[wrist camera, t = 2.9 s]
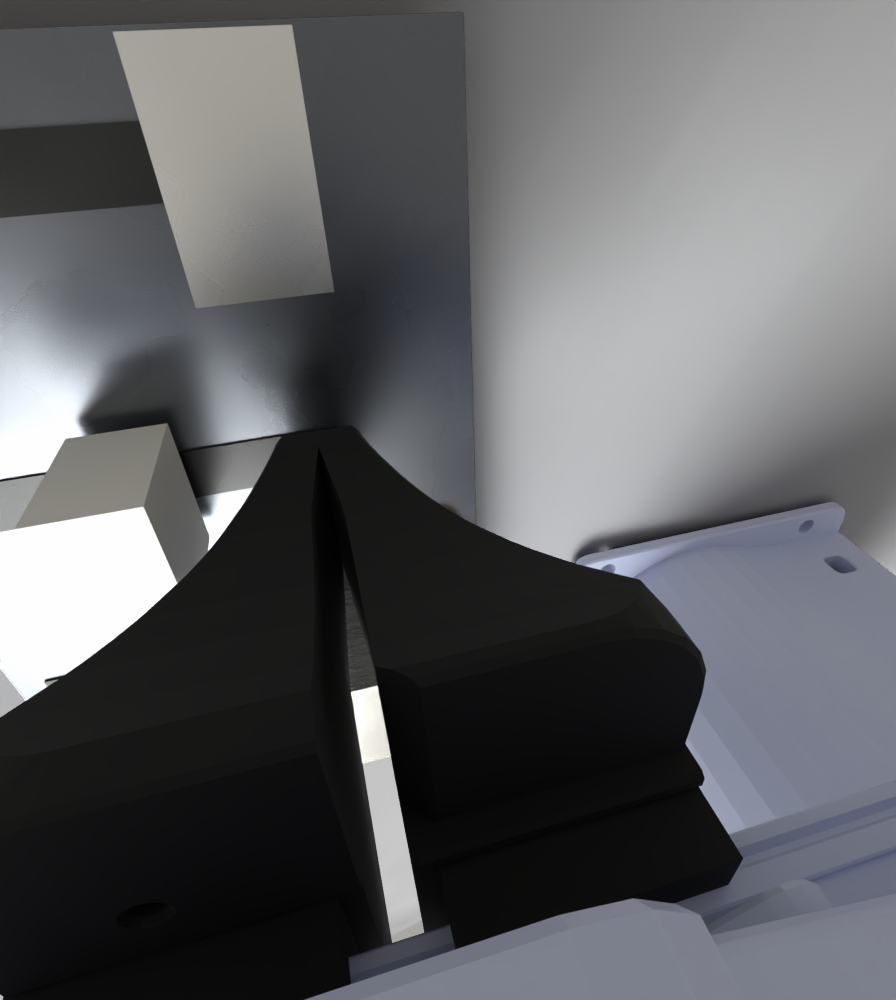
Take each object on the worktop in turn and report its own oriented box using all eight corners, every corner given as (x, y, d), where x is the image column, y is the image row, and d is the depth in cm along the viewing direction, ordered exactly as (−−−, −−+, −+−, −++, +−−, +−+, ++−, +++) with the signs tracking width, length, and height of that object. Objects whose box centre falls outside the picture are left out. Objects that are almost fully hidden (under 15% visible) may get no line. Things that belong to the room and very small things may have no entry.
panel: (431, 24, 10) (539, -18, 6) (459, 588, 17) (514, 729, 13) (-334, 55, 8) (-899, 24, 4) (76, 672, 15) (15, 863, 12)
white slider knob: (167, 422, 10) (142, 506, 8) (209, 536, 11) (197, 630, 9) (65, 438, 10) (14, 529, 8) (122, 553, 11) (91, 653, 9)
